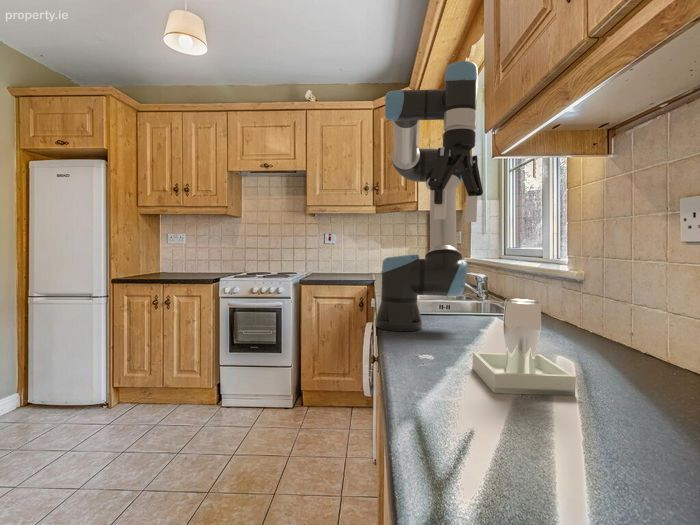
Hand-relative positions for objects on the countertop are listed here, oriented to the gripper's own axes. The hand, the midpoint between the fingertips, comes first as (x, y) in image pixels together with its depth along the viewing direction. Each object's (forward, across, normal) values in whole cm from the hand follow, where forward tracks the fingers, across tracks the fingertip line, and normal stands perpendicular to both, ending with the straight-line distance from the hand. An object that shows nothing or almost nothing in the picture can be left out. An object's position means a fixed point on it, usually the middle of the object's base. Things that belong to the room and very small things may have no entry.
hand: (456, 220), depth 98 cm
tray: (+33, +6, +19) cm, 38 cm away
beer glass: (+32, +6, +19) cm, 38 cm away
